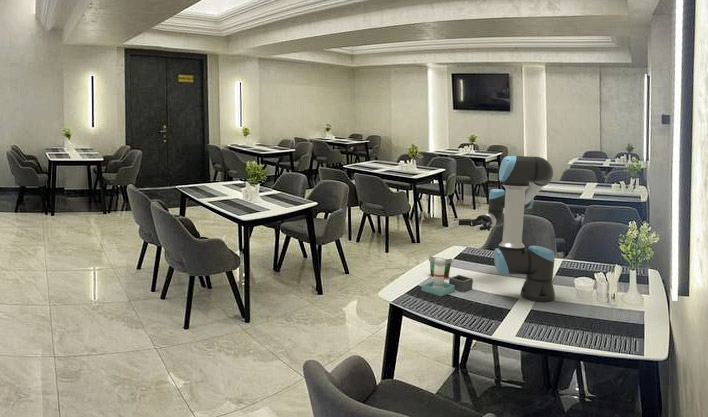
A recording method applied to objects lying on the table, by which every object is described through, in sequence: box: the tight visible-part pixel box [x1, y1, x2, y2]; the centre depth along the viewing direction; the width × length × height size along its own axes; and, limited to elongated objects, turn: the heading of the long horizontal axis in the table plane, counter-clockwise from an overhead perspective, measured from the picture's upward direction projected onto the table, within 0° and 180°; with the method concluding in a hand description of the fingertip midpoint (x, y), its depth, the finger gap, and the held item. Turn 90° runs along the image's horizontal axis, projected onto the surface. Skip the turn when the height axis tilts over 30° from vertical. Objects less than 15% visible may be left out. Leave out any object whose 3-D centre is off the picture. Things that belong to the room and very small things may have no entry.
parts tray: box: [421, 280, 456, 297], centre depth 275 cm, size 11×11×3 cm
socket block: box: [448, 274, 474, 293], centre depth 280 cm, size 8×8×5 cm
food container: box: [428, 254, 453, 279], centre depth 296 cm, size 12×6×10 cm, turn 63°
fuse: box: [432, 257, 446, 290], centre depth 274 cm, size 5×5×15 cm
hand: (462, 226), depth 279 cm, fingers open, 13 cm apart
